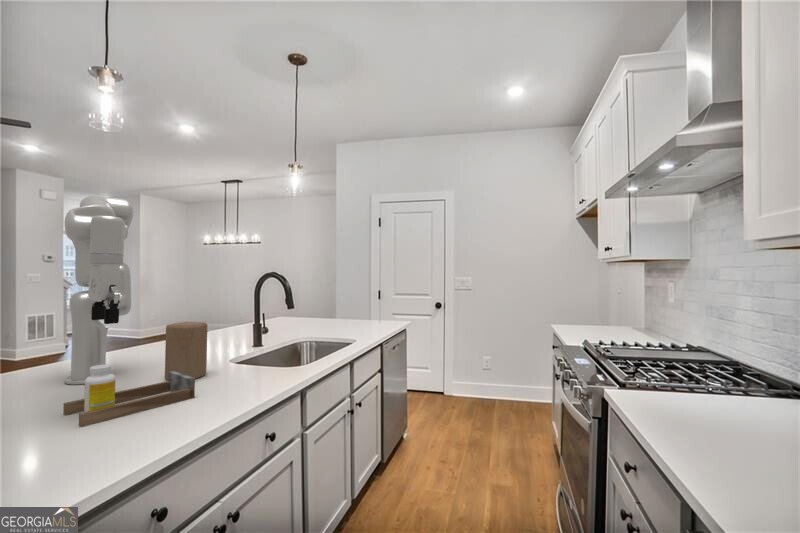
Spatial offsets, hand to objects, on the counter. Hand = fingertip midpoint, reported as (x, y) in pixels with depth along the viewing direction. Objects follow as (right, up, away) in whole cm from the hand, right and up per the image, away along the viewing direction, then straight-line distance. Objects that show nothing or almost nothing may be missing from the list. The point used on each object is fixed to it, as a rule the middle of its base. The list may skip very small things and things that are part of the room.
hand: (104, 321), depth 106 cm
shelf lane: (+5, -25, +4) cm, 26 cm away
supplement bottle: (0, -25, -2) cm, 25 cm away
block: (+4, -26, +33) cm, 42 cm away
